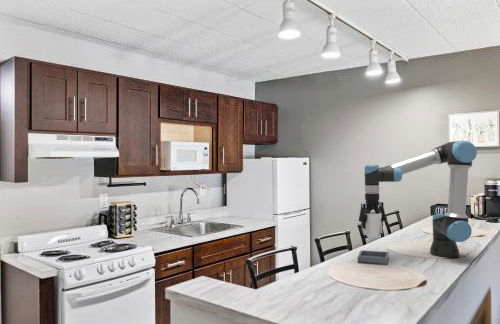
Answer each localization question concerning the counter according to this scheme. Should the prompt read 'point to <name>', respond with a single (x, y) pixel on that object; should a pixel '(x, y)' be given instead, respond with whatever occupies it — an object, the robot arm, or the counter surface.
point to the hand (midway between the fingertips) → (372, 233)
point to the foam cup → (373, 224)
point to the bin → (373, 257)
